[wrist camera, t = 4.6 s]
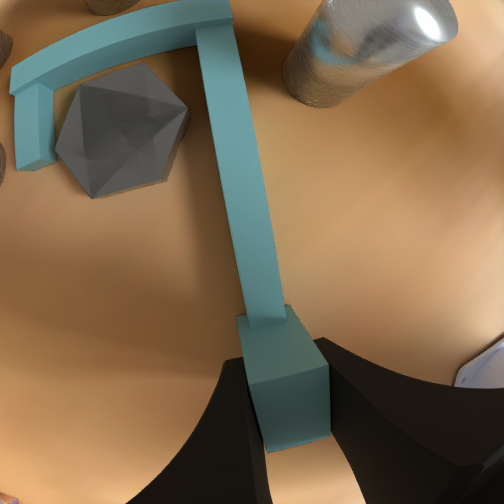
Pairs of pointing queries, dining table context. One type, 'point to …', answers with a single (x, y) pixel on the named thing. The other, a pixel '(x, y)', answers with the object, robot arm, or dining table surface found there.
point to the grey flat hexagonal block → (122, 132)
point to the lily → (14, 502)
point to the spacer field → (338, 45)
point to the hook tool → (232, 182)
